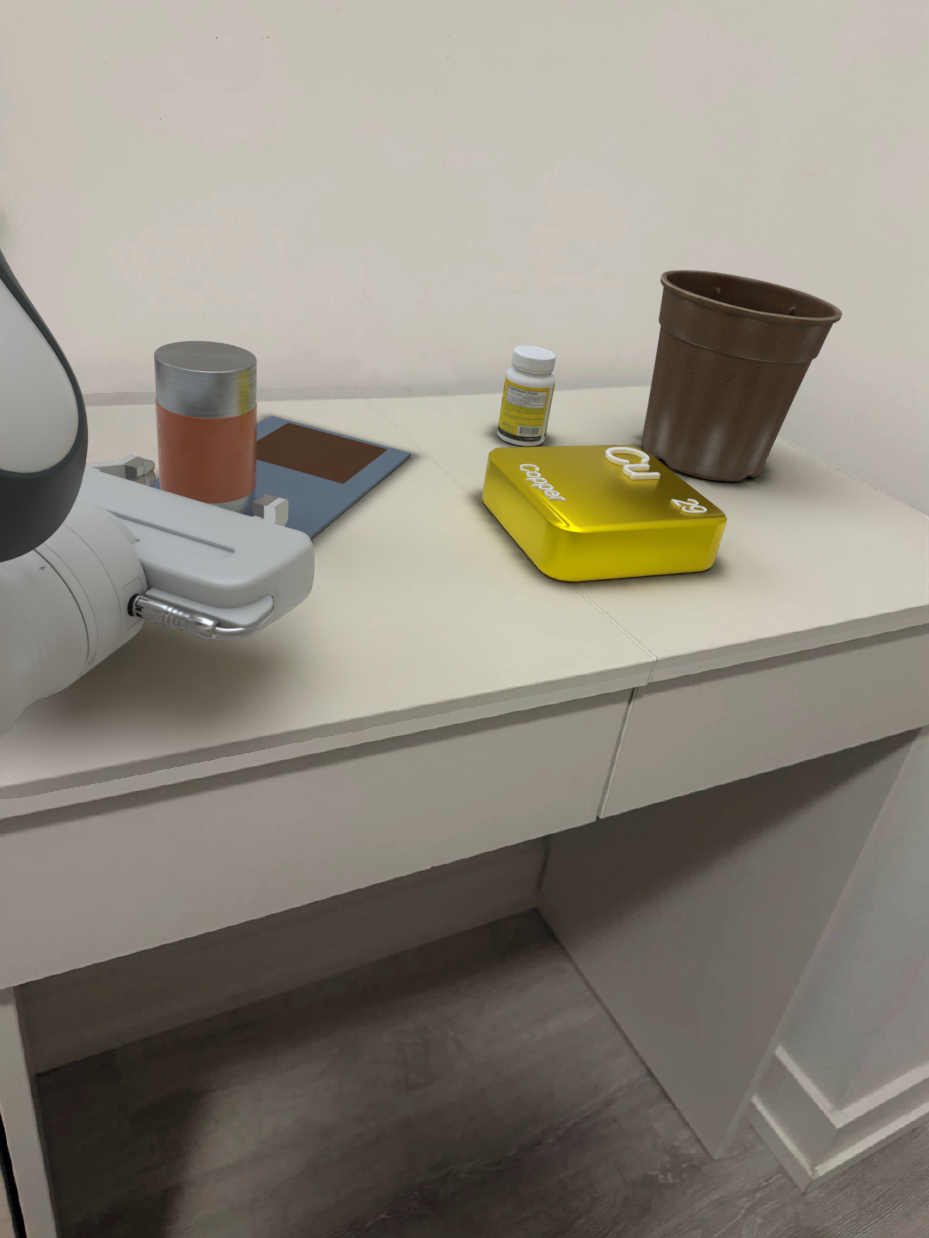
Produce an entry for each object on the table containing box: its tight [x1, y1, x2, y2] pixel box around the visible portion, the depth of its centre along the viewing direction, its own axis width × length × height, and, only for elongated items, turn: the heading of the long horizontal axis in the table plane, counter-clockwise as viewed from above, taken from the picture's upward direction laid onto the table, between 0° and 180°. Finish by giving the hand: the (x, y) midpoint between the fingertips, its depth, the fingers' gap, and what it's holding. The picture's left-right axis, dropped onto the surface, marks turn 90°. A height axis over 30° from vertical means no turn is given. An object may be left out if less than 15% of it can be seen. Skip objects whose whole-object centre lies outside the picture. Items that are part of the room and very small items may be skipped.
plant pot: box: [640, 269, 843, 482], centre depth 86 cm, size 16×16×16 cm
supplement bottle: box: [496, 345, 557, 447], centre depth 86 cm, size 5×5×8 cm
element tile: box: [481, 444, 728, 583], centre depth 72 cm, size 15×15×5 cm
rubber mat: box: [152, 415, 412, 540], centre depth 72 cm, size 14×26×1 cm, turn 160°
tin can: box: [153, 340, 258, 517], centre depth 62 cm, size 6×6×12 cm
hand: (210, 487), depth 57 cm, fingers open, 8 cm apart
